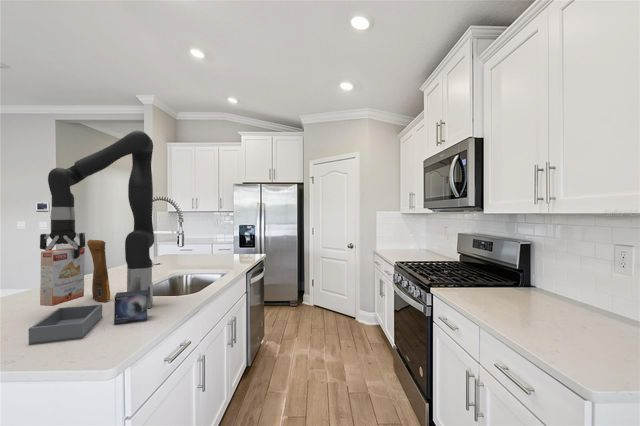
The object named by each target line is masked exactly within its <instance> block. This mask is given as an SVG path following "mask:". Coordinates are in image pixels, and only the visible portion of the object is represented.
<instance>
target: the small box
mask: <svg viewBox="0 0 640 426" xmlns="http://www.w3.org/2000/svg"><path fill="white" fill-rule="evenodd" d="M147 295H148V290H141V291H130V292H127V291H120V292H119V291H118V292H116V293H115V296H114V306H113V310H114V313H113V316H114V317H113V325H115V326H116V325H123V324H132V323H140V322H146V321H148V308H147Z"/></svg>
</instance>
